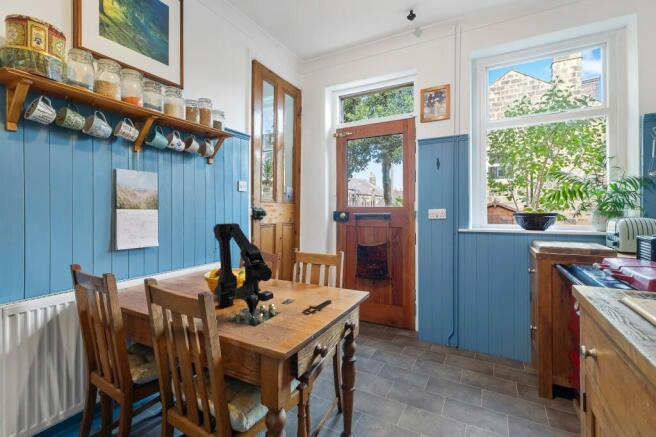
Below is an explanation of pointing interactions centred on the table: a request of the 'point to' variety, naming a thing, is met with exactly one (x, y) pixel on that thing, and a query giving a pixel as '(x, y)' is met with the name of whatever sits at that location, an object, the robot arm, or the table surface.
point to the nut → (246, 311)
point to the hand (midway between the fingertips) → (252, 313)
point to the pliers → (287, 301)
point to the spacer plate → (254, 316)
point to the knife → (316, 307)
